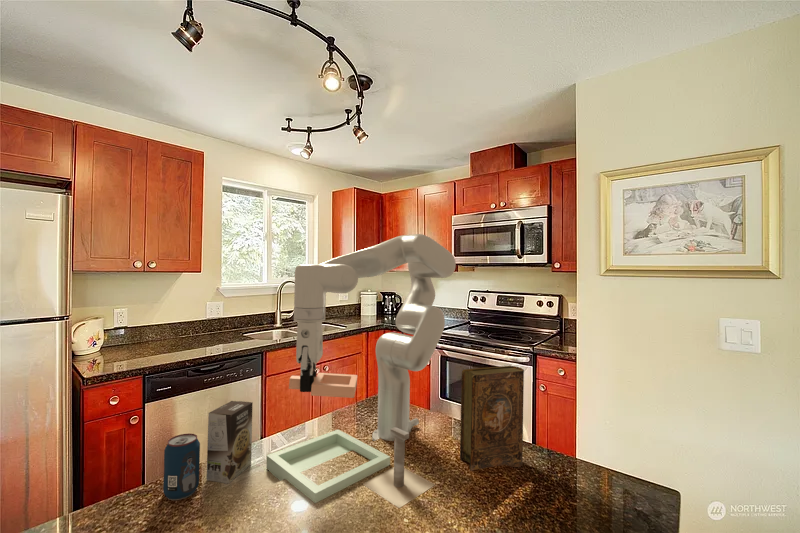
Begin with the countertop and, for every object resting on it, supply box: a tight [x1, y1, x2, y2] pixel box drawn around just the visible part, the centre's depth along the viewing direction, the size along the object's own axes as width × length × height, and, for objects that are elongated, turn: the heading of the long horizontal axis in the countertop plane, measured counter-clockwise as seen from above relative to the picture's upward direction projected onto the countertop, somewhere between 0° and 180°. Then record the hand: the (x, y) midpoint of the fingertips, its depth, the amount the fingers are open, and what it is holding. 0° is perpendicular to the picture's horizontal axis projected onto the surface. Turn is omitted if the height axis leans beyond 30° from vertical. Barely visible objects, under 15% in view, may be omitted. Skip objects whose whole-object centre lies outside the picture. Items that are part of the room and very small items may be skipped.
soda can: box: [162, 433, 201, 501], centre depth 83 cm, size 7×7×12 cm
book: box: [459, 365, 525, 471], centre depth 97 cm, size 16×6×25 cm, turn 109°
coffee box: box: [206, 400, 253, 484], centre depth 92 cm, size 9×6×16 cm
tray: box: [265, 429, 391, 504], centre depth 93 cm, size 22×22×4 cm
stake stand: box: [362, 427, 436, 509], centre depth 85 cm, size 12×12×14 cm
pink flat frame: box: [288, 372, 358, 399], centre depth 91 cm, size 16×10×2 cm, turn 93°
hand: (308, 388), depth 91 cm, fingers closed on pink flat frame, 2 cm apart
